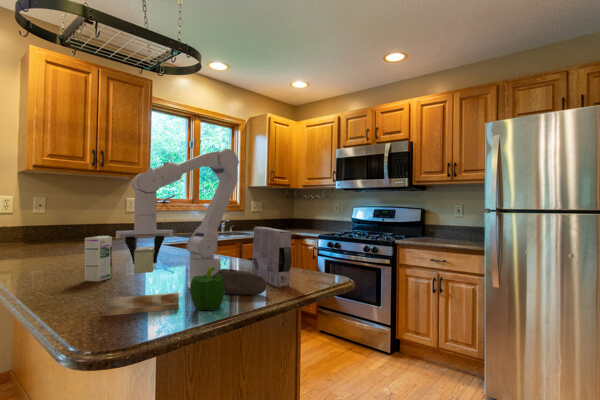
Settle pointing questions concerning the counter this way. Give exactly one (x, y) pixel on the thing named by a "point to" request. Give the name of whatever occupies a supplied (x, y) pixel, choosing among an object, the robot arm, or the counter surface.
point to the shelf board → (141, 304)
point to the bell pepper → (207, 291)
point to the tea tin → (144, 260)
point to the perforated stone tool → (242, 282)
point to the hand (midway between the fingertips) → (145, 263)
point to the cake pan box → (272, 255)
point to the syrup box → (98, 258)
